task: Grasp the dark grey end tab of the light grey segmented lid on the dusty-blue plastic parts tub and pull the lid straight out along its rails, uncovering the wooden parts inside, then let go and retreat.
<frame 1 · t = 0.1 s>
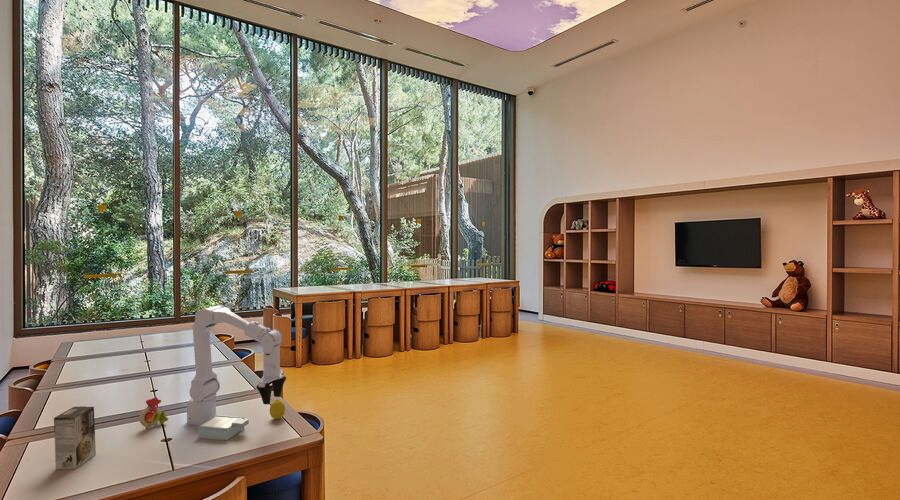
hand: (271, 400, 175), 10 cm above the table, fingers open, 7 cm apart
block: (217, 430, 172), resting on tub
tub: (221, 434, 169), on the table
lid: (226, 422, 169), point 5 cm above the table, slide at 0.0 cm
lemon: (277, 420, 182), on the table
coffee box: (76, 462, 149), on the table
bird rattle: (153, 426, 176), on the table
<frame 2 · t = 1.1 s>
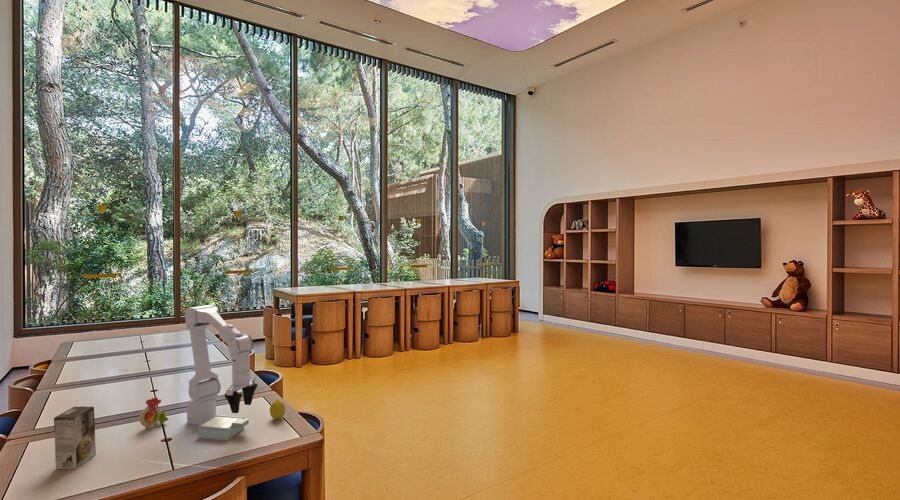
hand: (241, 408, 168), 10 cm above the table, fingers open, 7 cm apart
nothing on the table moved.
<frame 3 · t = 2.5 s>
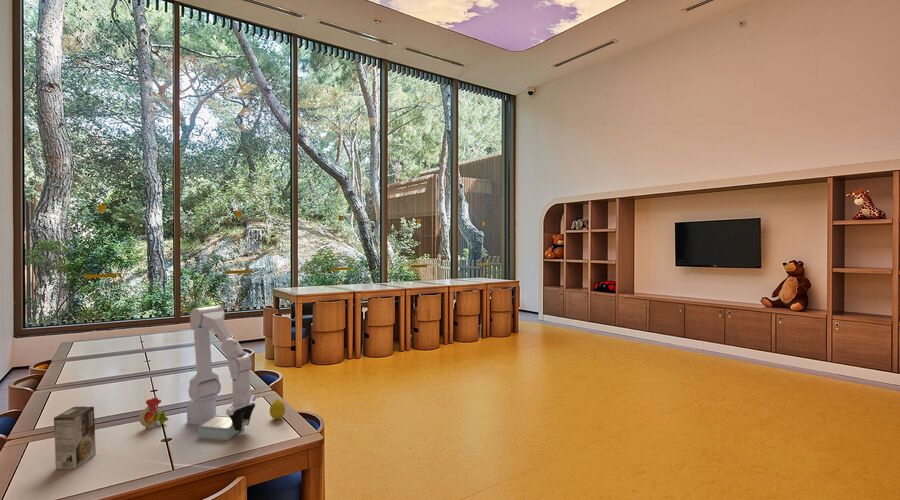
hand: (241, 427, 168), 3 cm above the table, fingers closed on lid, 4 cm apart
lid: (226, 422, 169), point 5 cm above the table, slide at 0.0 cm, touching gripper
everything else where it was.
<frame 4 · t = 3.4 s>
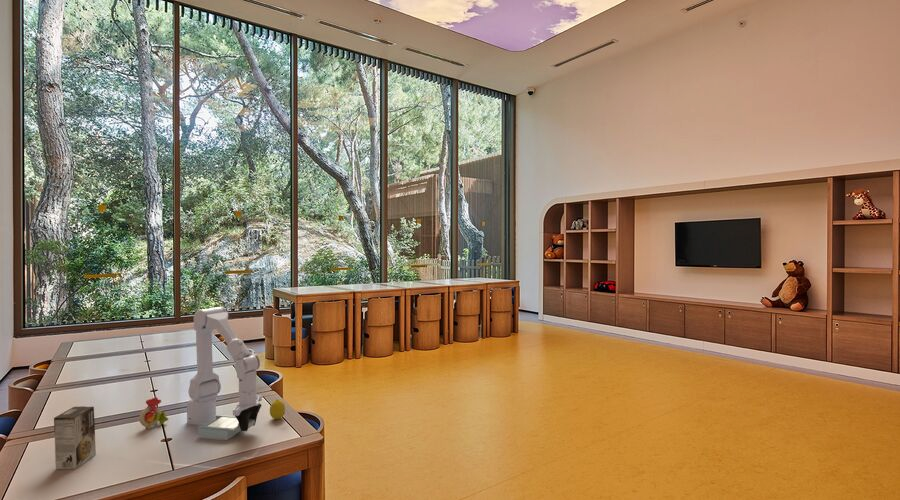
hand: (248, 427, 168), 3 cm above the table, fingers closed on lid, 4 cm apart
lid: (232, 422, 168), point 5 cm above the table, slide at 2.4 cm, touching gripper
everything else where it was.
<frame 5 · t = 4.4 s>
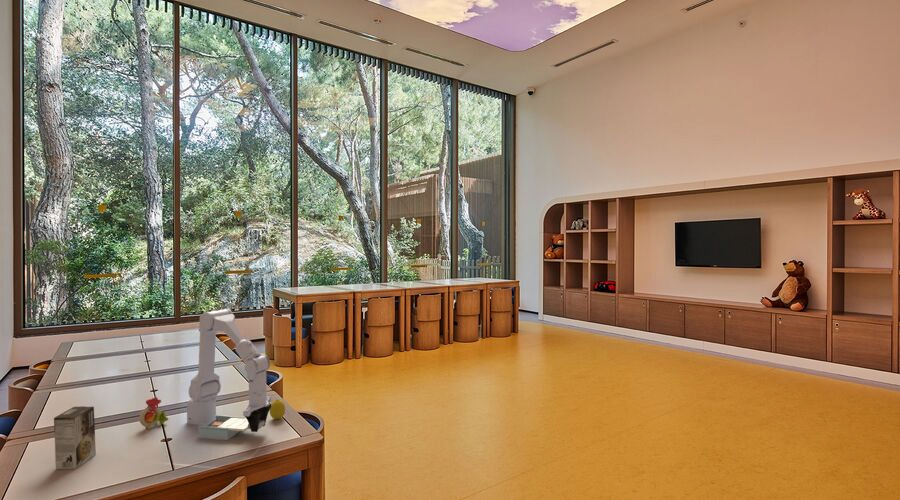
hand: (258, 428, 167), 3 cm above the table, fingers closed on lid, 4 cm apart
lid: (242, 423, 168), point 5 cm above the table, slide at 6.2 cm, touching gripper
everything else where it was.
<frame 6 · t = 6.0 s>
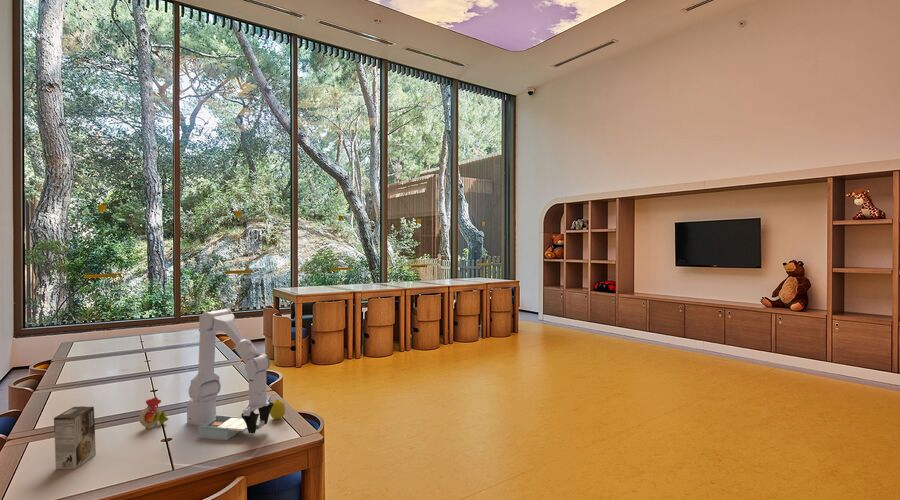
hand: (258, 428, 167), 3 cm above the table, fingers open, 7 cm apart
lid: (242, 423, 168), point 5 cm above the table, slide at 6.1 cm
everything else where it was.
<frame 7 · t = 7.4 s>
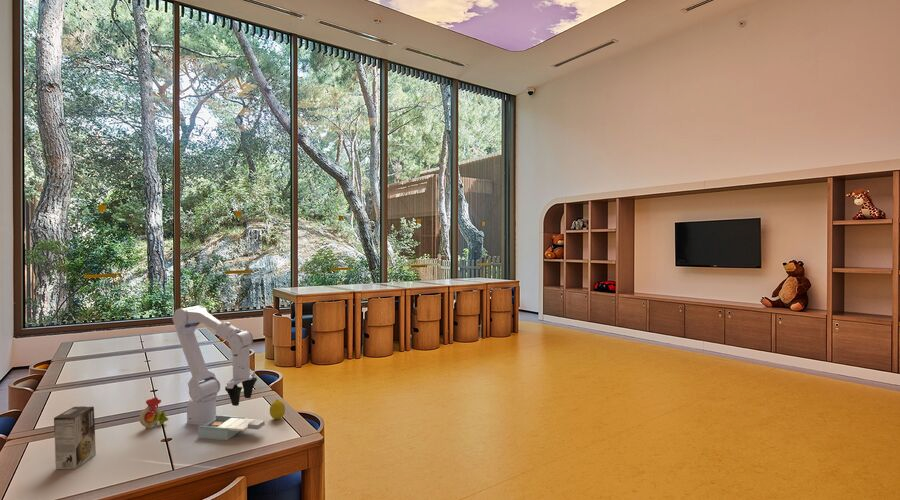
hand: (241, 401, 174), 10 cm above the table, fingers open, 7 cm apart
nothing on the table moved.
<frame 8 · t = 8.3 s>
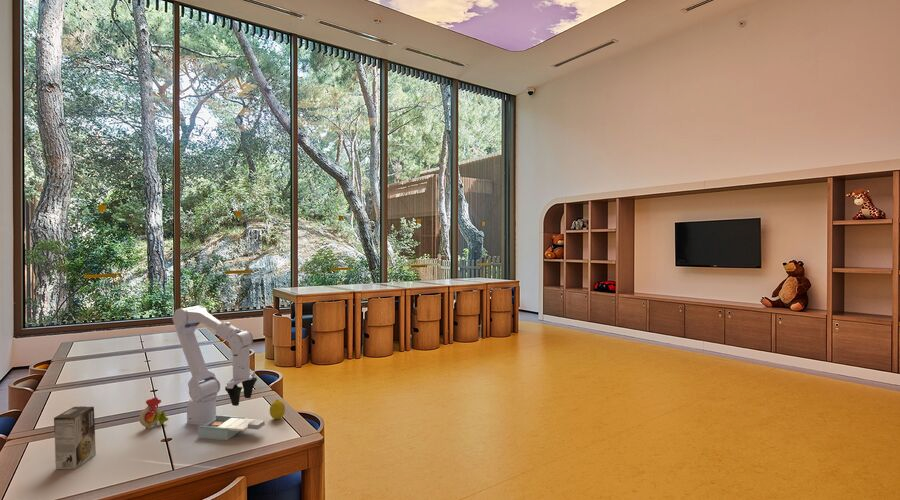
hand: (241, 401, 174), 10 cm above the table, fingers open, 7 cm apart
nothing on the table moved.
at the end: lid slide at 6.1 cm; the gripper is holding nothing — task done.
